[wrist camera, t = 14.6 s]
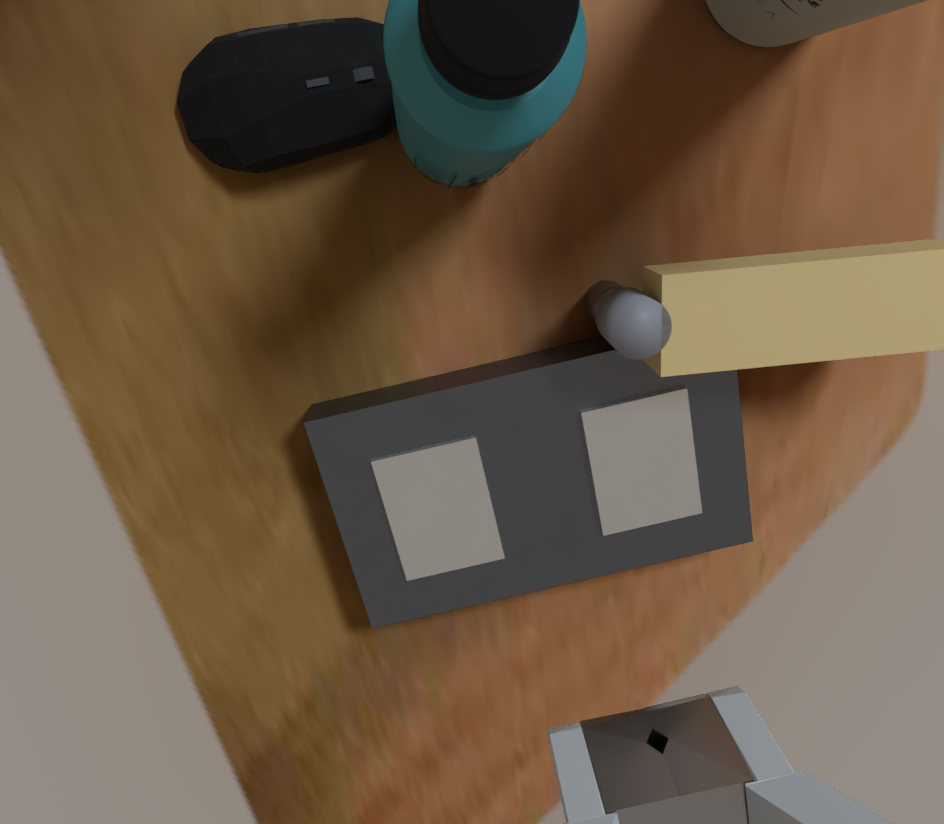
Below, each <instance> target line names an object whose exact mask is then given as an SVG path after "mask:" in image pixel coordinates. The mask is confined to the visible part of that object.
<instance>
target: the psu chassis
mask: <svg viewBox="0 0 944 824" xmlns="http://www.w3.org/2000/svg"><path fill="white" fill-rule="evenodd" d="M619 288H624V287H622V286H621V285H619V284H617V283H616V282H613V281H601V282H598V283H596V284H595V285H593V286H592V287H591V288H590V289H589V291H588V293H587V295H586V298H585V308H586V311H587V313H588V314H589V316H590V317H591V318H592V319H593V320H594V321H595V322H596V312H597V308H598V306H599V304H600V302H601V301H602V300H603V298H604V297H605V296H606V295H607V294H609V293H610V292H612V291H614V290H616V289H619ZM304 426H305V429H306V432H307V435H308V438H309V441H310V444H311V447H312V450H313V453H314V456H315V459H316V462H317V465H318V468H319V471H320V474H321V477H322V480H323V483H324V486H325V489H326V492H327V495H328V498H329V501H330V504H331V507H332V510H333V513H334V516H335V519H336V522H337V525H338V528H339V531H340V534H341V537H342V540H343V543H344V546H345V549H346V552H347V555H348V558H349V561H350V564H351V567H352V570H353V573H354V576H355V579H356V582H357V585H358V588H359V591H360V594H361V597H362V600H363V603H364V606H365V609H366V612H367V615H368V618H369V621H370V624H371V627H372V628H376V627H380V626H385V625H389V624H393V623H398V622H402V621H407V620H411V619H415V618H420V617H424V616H428V615H433V614H437V613H442V612H446V611H450V610H455V609H459V608H463V607H468V606H472V605H477V604H481V603H485V602H490V601H494V600H498V599H503V598H507V597H512V596H516V595H520V594H525V593H529V592H533V591H538V590H542V589H547V588H551V587H555V586H560V585H564V584H568V583H573V582H577V581H582V580H586V579H590V578H595V577H599V576H603V575H608V574H612V573H616V572H621V571H625V570H630V569H634V568H638V567H643V566H647V565H651V564H656V563H660V562H665V561H669V560H673V559H678V558H682V557H686V556H691V555H695V554H700V553H704V552H708V551H713V550H717V549H721V548H726V547H730V546H735V545H739V544H743V543H748V542H752V541H753V536H752V525H751V515H750V504H749V493H748V482H747V472H746V461H745V450H744V439H743V429H742V418H741V407H740V396H739V386H738V375H737V370H728V371H718V372H708V373H698V374H688V375H677V376H667V377H660V376H659V375H658V374H657V373H656V372H655V371H654V370H653V369H652V368H650V367H649V366H648V365H647V364H646V363H645V362H644V361H643V359H641V360H635V359H629V358H627V357H625V356H623V355H621V354H620V353H619V352H618V351H617V350H616V349H615V348H614V347H613V346H612V345H611V344H610V343H609V342H608V341H607V340H606V339H605V338H604V337H598V338H594V339H590V340H586V341H581V342H577V343H573V344H569V345H564V346H560V347H556V348H551V349H547V350H543V351H539V352H534V353H530V354H526V355H522V356H517V357H513V358H509V359H505V360H500V361H496V362H492V363H487V364H483V365H479V366H475V367H470V368H466V369H462V370H458V371H453V372H449V373H445V374H441V375H436V376H432V377H428V378H423V379H419V380H415V381H411V382H406V383H402V384H398V385H394V386H389V387H385V388H381V389H377V390H372V391H368V392H364V393H359V394H355V395H351V396H347V397H342V398H338V399H334V400H330V401H325V402H321V403H317V404H313V405H311V407H310V410H309V412H308V414H307V416H306V418H305V421H304Z"/></svg>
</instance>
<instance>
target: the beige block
mask: <svg viewBox="0 0 944 824" xmlns="http://www.w3.org/2000/svg"><path fill="white" fill-rule="evenodd" d="M596 325H597V328H598V330H599V332H600V334H601V335H602V336H603V337H604V338H605V339H606V340H607V341H608V342H609V343H610V344H611V345H612V346H613V347H614V348H615V349H616V350H617V351H618V352H619V353H620V354H621V355H623V356H625V357H627V358H629V359H635V360H641V359H643V361H644V362H645V363H646V364H647V365H648V366H649V367H650V368H652V369H653V370H654V371H655V372H656V373H657V374H658V375H659V376H660V377H667V376H677V375H688V374H698V373H708V372H718V371H728V370H738V369H749V368H759V367H769V366H779V365H789V364H799V363H809V362H820V361H830V360H840V359H850V358H860V357H870V356H881V355H891V354H901V353H911V352H921V351H931V350H942V349H944V241H938V240H931V239H929V240H918V241H908V242H897V243H886V244H875V245H865V246H854V247H843V248H833V249H822V250H811V251H800V252H790V253H779V254H768V255H757V256H747V257H736V258H725V259H714V260H704V261H693V262H682V263H672V264H661V265H650V266H643V292H641V291H639V290H637V289H634V288H628V287H626V288H619V289H616V290H614V291H612V292H610V293H609V294H607V295H606V296H605V297H604V298H603V300H602V301H601V302H600V304H599V306H598V308H597V312H596Z"/></svg>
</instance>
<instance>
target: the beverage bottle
mask: <svg viewBox="0 0 944 824" xmlns="http://www.w3.org/2000/svg"><path fill="white" fill-rule="evenodd" d="M383 46H384V55H385V62H386V66H387V71H388V75H389V77H390V80H391V84H392V88H391V89H392V96H393V98H392V97H390V98H392V99H393V100H391V99H390V100H391V101H393V103H394V110H395V117H396V124H397V130H398V134H399V138H400V141H401V143H402V146H403V148H404V150H405V152H406V153H407V155H408V157H409V158H410V160H411V161H412V162H413V163H414V168H415V165H416V166H417V167H418V168H419V169H420V170H421V172H423V174H424V173H425V175H424V176H426V175H427V176H426V178H427V177H428V176H429V178H430V177H431V178H432V179H435V180H436V182H437V183H438V184H439V182H438V181H440V182H442V183H446V184H450V185H449V186H448V187H449V188H450V186H451V185H468V186H467V187H471V186H475V185H476V184H478V183H480V182H481V183H482V181H484V180H487V179H490V177H492V176H494V175H495V174H496V173H497V172H499V171H500V170H501V169H502V168H503V167H505V166H506V165H507V164H508V163H509V162H510V161H512V160H513V159H514V158H515V157H516V156H518V155H519V154H520V153H521V152H522V151H523V150H525V149H526V148H527V147H528V146H529V145H530V144H531V143H532V142H534V140H535V139H537V138H538V137H540V136H541V135H542V134H543V133H546V131H547V130H548V129H549V128H550V127H551V126H552V125H553V124H554V123H555V122H556V121H557V120H558V119H559V118H560V117H561V115H562V114H563V113H564V112H565V110H566V109H567V107H568V106H569V104H570V102H571V101H572V99H573V97H574V95H575V93H576V90H577V88H578V86H579V83H580V80H581V77H582V74H583V69H584V64H585V58H586V47H587V46H586V28H585V20H584V15H583V11H582V7H581V4H580V0H389V2H388V7H387V11H386V15H385V22H384V30H383ZM388 79H389V78H388ZM391 84H390V83H389V85H391ZM389 89H390V88H389ZM390 93H391V91H390ZM389 96H390V95H389ZM389 103H390V102H389ZM391 104H392V103H391ZM392 108H393V107H392ZM392 111H393V109H392ZM392 114H393V112H392ZM392 114H391V115H392ZM392 116H393V115H392ZM392 120H393V119H392ZM393 126H394V125H393ZM543 135H544V134H543ZM541 138H542V137H541ZM541 138H540V139H541ZM536 144H537V143H536ZM536 144H535V145H536ZM532 145H533V143H532ZM535 145H534V146H535ZM534 146H533V147H534ZM533 147H532V148H533ZM528 148H529V149H530V147H528ZM527 151H528V150H527ZM527 151H525V152H527ZM523 154H524V153H523ZM522 157H523V156H522ZM514 161H515V160H514ZM514 161H513V162H514ZM513 162H511V163H513ZM507 168H508V166H507ZM507 168H506V169H507ZM501 171H502V170H501ZM503 172H504V171H503ZM503 172H502V173H503ZM499 173H500V172H499ZM496 175H497V174H496ZM422 176H423V175H422ZM498 176H499V175H498ZM494 177H495V176H494ZM431 178H430V179H431ZM492 178H493V177H492ZM428 180H429V179H428ZM433 182H434V181H433ZM484 182H486V181H484ZM437 183H436V184H437ZM442 183H441V184H442ZM485 184H486V183H485ZM442 185H443V184H442ZM482 185H483V184H482ZM478 186H479V185H478ZM480 186H481V185H480ZM475 187H476V186H475ZM472 188H473V187H472ZM457 189H466V188H457Z"/></svg>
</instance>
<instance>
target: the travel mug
mask: <svg viewBox="0 0 944 824" xmlns="http://www.w3.org/2000/svg"><path fill="white" fill-rule="evenodd" d="M924 1H927V0H706V3H707V5H708V7H709V9H710V11H711V13H712V15H713V16H714V18H715V19H716V21H717V22H718V23H719V24H720V26H721V27H722V28H723V29H724V30H725V31H726V32H728V33H729V34H730V35H732V36H733V37H735V38H736V39H738V40H740V41H742V42H744V43H747V44H750V45H754V46H759V47H778V46H783V45H787V44H791V43H794V42H797V41H800V40H803V39H807V38H810V37H813V36H816V35H819V34H823V33H826V32H829V31H832V30H835V29H838V28H842V27H845V26H848V25H851V24H854V23H857V22H861V21H864V20H867V19H870V18H873V17H876V16H880V15H883V14H886V13H889V12H892V11H896V10H899V9H902V8H905V7H908V6H911V5H915V4H918V3H921V2H924Z"/></svg>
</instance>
